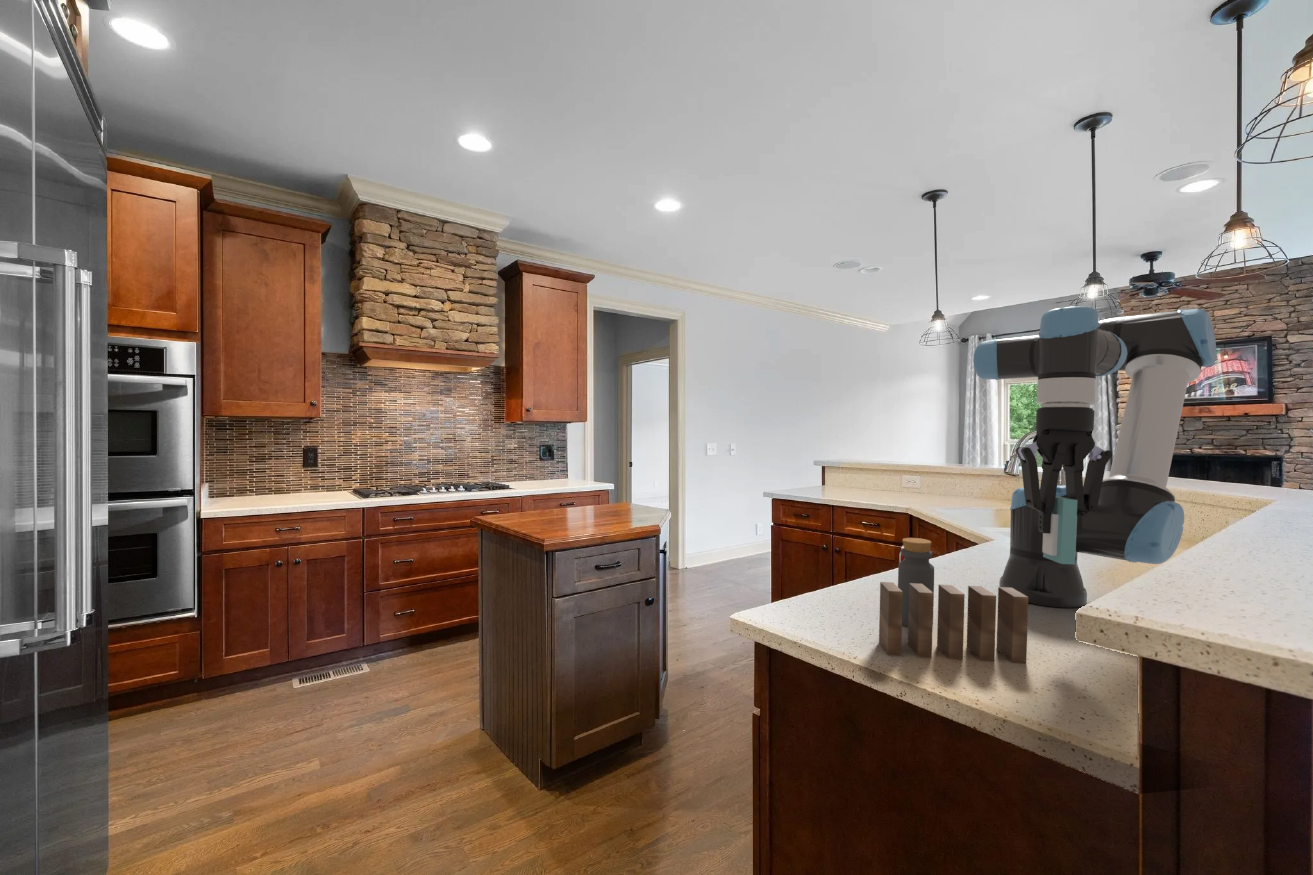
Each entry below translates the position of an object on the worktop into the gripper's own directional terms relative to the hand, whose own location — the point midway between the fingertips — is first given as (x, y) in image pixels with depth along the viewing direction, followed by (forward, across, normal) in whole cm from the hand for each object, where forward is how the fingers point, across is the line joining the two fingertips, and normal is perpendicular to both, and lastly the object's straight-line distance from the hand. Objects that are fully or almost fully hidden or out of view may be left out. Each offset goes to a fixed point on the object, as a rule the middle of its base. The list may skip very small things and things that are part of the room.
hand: (1058, 554), depth 91 cm
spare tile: (+1, 0, 0) cm, 1 cm away
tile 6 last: (+16, +26, +4) cm, 31 cm away
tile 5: (+16, +22, +4) cm, 27 cm away
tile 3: (+16, +13, +4) cm, 21 cm away
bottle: (+16, +19, -9) cm, 26 cm away
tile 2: (+15, +8, +4) cm, 18 cm away
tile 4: (+16, +17, +4) cm, 24 cm away
